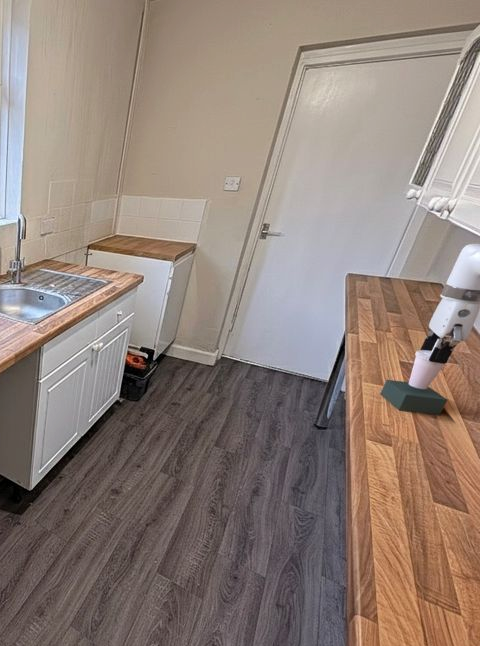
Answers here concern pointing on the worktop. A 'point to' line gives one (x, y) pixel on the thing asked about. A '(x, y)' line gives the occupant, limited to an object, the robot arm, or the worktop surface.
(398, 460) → the worktop surface
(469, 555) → the worktop surface
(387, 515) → the worktop surface
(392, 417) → the worktop surface
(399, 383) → the block
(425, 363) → the smoothie
